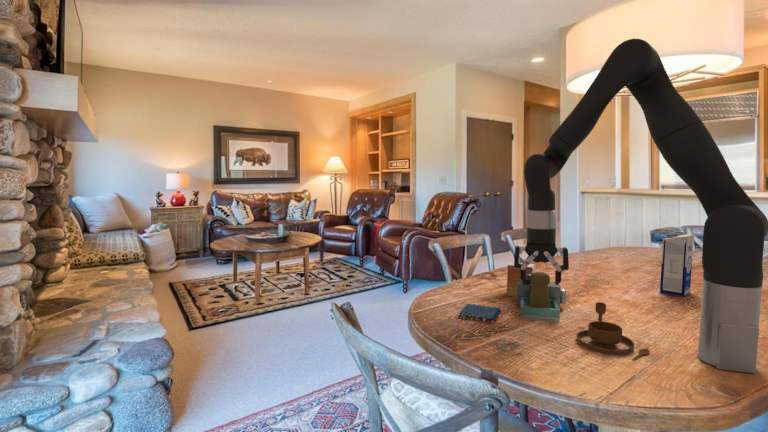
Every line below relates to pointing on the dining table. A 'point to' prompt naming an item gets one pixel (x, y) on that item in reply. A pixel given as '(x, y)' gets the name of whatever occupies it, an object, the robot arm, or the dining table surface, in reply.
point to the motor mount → (540, 313)
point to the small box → (516, 277)
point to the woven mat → (480, 313)
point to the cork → (539, 290)
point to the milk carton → (676, 264)
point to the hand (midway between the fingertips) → (540, 283)
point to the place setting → (607, 336)
